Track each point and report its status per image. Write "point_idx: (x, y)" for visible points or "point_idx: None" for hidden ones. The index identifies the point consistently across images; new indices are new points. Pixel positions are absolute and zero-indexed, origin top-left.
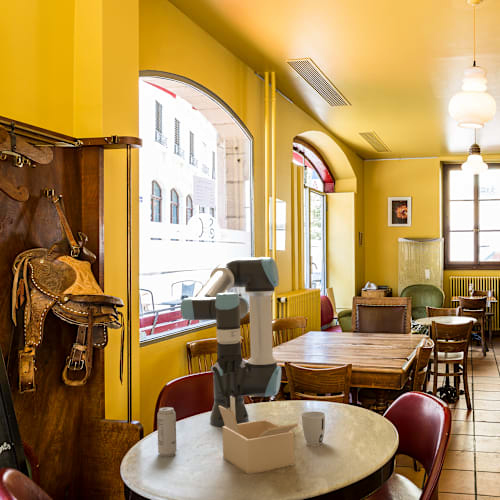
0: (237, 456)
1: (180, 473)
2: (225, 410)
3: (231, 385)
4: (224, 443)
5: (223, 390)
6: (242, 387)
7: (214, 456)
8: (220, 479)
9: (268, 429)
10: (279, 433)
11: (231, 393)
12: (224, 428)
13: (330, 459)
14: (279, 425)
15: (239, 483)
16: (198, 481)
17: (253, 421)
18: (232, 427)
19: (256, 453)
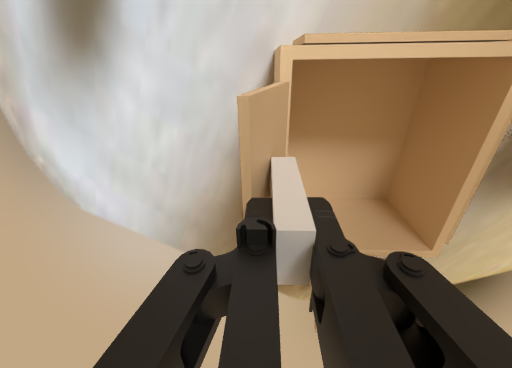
0: None
1: (127, 116)
2: (245, 200)
3: (339, 355)
4: (276, 65)
5: (194, 355)
6: (430, 365)
7: (255, 19)
8: (208, 195)
9: (315, 330)
10: (443, 178)
11: (317, 259)
12: (279, 73)
13: (476, 211)
14: (486, 166)
15: (234, 228)
16: (161, 183)
17: (464, 45)
18: None
19: None
